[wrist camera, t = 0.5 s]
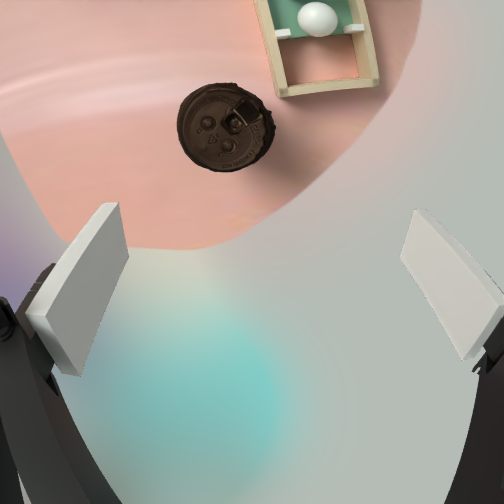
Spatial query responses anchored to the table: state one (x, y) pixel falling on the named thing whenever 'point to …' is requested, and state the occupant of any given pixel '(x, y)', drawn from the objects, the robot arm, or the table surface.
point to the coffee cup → (224, 127)
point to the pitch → (286, 27)
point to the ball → (317, 19)
